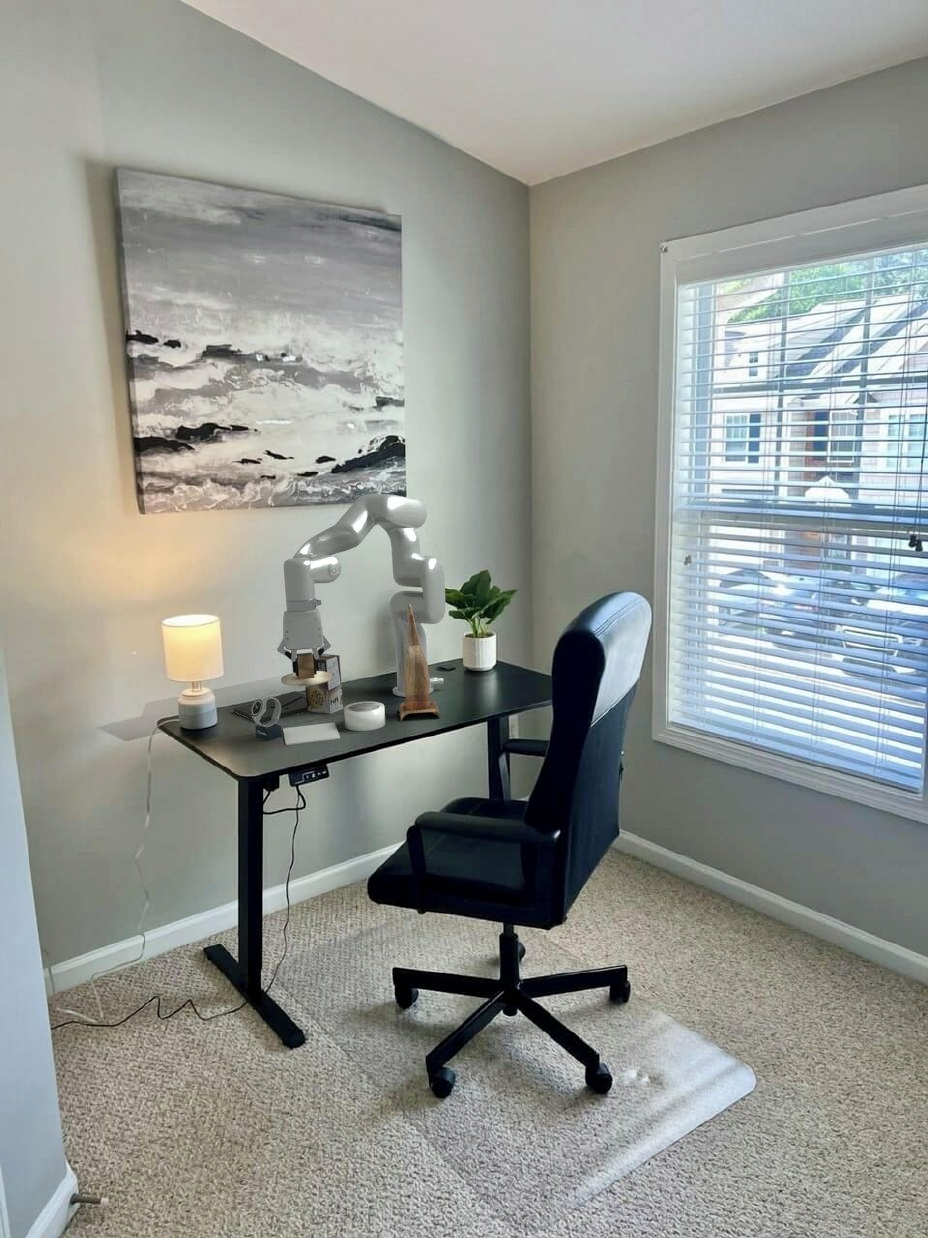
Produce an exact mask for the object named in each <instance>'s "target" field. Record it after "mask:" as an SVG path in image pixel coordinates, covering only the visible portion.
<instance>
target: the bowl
mask: <svg viewBox="0 0 928 1238" xmlns="http://www.w3.org/2000/svg"><path fill="white" fill-rule="evenodd" d="M385 710H386V709H385V705H384V703H381V702H378V701H359V702H354V703H350V704H347V705H346V706H343V714H344V715H343V716H344V727H345V729H346V730H350V731H354V732H367V731H374V730H378V729H380V728H383V727H385V725H386V714H385V713H386V712H385Z"/></svg>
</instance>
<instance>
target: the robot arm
mask: <svg viewBox="0 0 928 1238" xmlns="http://www.w3.org/2000/svg"><path fill="white" fill-rule="evenodd" d="M427 513H428V511H427V508H426V505H425V504H424V503H423V501H421V500H420V499H417V498H413V497H406V496H401V495H396V494H391V493H390V494H387V493H381V494H380V493H377V494H375V493H373V494H372V493H371V494H370V493H369V494H364V495H361V496H359V497H358V498H357V499H356V500H355V501H353V503H352V505H351V506H350V507H349V508H348V509H347V511H346V512H344V514H343V515H342V516H341V517H340V519H338V521H337V522H336V523H335V524H333V525H332V526H330V527H328V528H326V529H325V530H323V531H321V532H319V533H318V534H317V533H316V534H315V535H313V536H312V537H311V538H309V539H308V540H306V542H304V543H303V544H302V545H301V546H300V547H299V549H298V550H297V551H296V552H295V554H294V555H293V557H292V558H289V559H286V560H285V561H284V562H283V577H284V592H285V604H286V611H283V619H282V637H283V638H282V639H281V641H280V642H279V645H278V647H277V648H276V649H277V650H276V651H277V652H278V653H279V654H282V655H284V656H285V657H287V658H288V660H290V661H291V663H292V665H291V666H292V673H296V676H299V672H298V661H297V654H298V650H310V649H311V650H312V654H313V662H314V674H315V675H316V674H317V671H318V670H319V665H318V659H319V657H320V656H321V655H322V654H325V652H326V651H327V650H329V649H330V648H331V646H332V645H331V643H330V642H329V640H328V639H327V638H326V637H325V636H324V632H323V631H324V630H323V624H322V620H321V613H320V610H319V608H317V607H318V606H321V605H322V600H321V599H317V598H316V590H315V589H316V588H315V585H316V584H329V583H330V584H331V583H332V582H334V581H336V580H337V579H339V578H340V575H341V573H342V564H341V563H340V561H339V559H338V558H337V557H335V556H333V555H336V554H339V553H343V552H347V551H350V550H351V549H354V548H356V547H358V546H359V545H360V544H361V543H362V542H363V541H364V539H365V538H366V537H367V535H368V534H369V533H370V532H371V531H372V529H373V528H375V526H377V525H379V526H380V527H381V528H382V529H383V530H384V531H385V532H386V534H387V536H388V538H389V540H390V547H391V561H392V562H391V564H392V575H393V580H394V582H395V584H396V585H398V586H401V587H408V588H409V587H410V588H421V590H422V591H418V590H401V591H398V592H396V593H394V594H393V595H392V596H391V598H390V600H389V612H390V616H391V619H392V620H391V621H392V624H393V632H394V645H395V647H394V648H395V664H396V679H397V680H396V681H397V682H396V683H397V685H396V686H395V687H393V688H392V694H393V695H395V696H397V697H404V698H405V697H406V696H405V679H404V660H405V655H406V651H407V647H408V605H409V604H411V607H412V611H413V615H414V620H415V624H416V629H417V633H418V638H419V642H420V645H421V648H422V651H423V653H424V655H425V658H426V660H427V661H428V651H427V635H426V632H425V629H424V627H423V625H422V624H424V625H425V624H427V625H437V624H439V623H440V622H442V620H443V619H444V616H445V615H446V588H445V587H446V586H445V585H446V582H445V581H446V580H445V570H444V567H443V563H442V562H441V561H440V559H438V558H437V557H435V556H431V555H422V553H421V547H420V538H419V535H418V532H417V530H416V529H419V528H421V527H422V526H424V524H425V523H426V520H427V517H428V514H427ZM443 684H444V678H443V677H436V676H435V677H430V676H429V688H430V694H433V692H434V690H435V689H434V685H443Z"/></svg>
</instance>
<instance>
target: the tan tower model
mask: <svg viewBox="0 0 928 1238" xmlns="http://www.w3.org/2000/svg"><path fill="white" fill-rule="evenodd" d="M428 664H429V663H428V659H427V660H426V658H425V655H424V653H423V651H422V648H421V645H420V642H419V638H418V633H417V629H416V624H415V620H414V615H413V611H412V607H411V604H409V605H408V647H407V651H406V655H405V660H404V679H405V696H406V697H404V698H405V699H404V701H405V702H401V703H400V704H399V706H398V712H400V713H399V718H400V721H403V719H404V718H405V717H406V716H407V715H409V714H418V713H433V714H434V715H436V716H437V717H438V718H439V719H441V713H440V712H439V708H438V705H437V702H436V701H434V700H431V697H430V696H431V693H430V688H429V677H430V674H429V666H428Z"/></svg>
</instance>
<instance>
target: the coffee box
mask: <svg viewBox="0 0 928 1238" xmlns="http://www.w3.org/2000/svg"><path fill="white" fill-rule="evenodd" d="M318 665H319V670H318V671H324V672H328V673H330V674H331V680H329V681H327V682H325V683H321V684H317V685H310V686H304V689H305V697H306V703H307V707H308V711H307V712H311V713H313V712H314V713H320V714H328V715H331V714H334V713H336V712H338V711H341V710H344V701H343V700H344V699H343V698H344V697H343V688H342V687H343V686H342V673H341V661H340V655H337V654H327V653H323V654H322V655H321V656H320V657H319V659H318Z"/></svg>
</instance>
